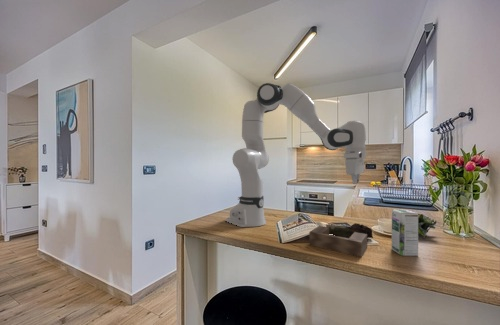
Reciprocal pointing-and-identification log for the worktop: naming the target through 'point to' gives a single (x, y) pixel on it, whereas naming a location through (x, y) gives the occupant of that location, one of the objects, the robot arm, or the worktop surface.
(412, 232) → the syrup box
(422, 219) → the green leafy plant
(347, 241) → the socket block
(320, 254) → the worktop surface
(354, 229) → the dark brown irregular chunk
